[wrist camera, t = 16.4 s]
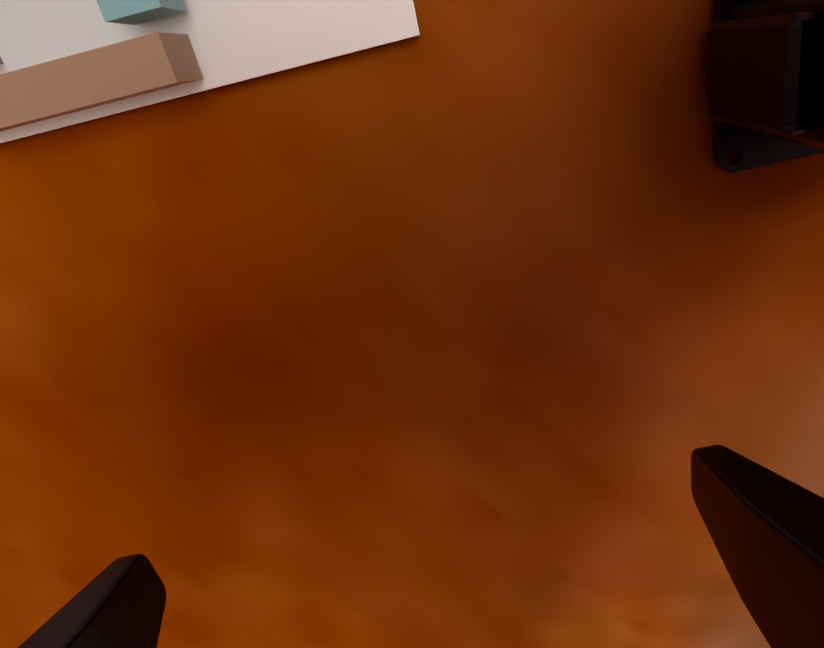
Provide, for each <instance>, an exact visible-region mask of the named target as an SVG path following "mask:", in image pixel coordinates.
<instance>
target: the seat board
mask: <svg viewBox="0 0 824 648" xmlns="http://www.w3.org/2000/svg"><path fill="white" fill-rule="evenodd" d="M183 3H184V6H185V9H186V12H182V13H178V14H175V15H171V16H167V17H164V18H160V19H156V20H153V21H149V22H145V23H142V24H138V25H130V24H120V23H110V22H105V20H104V18H103V16H102V13H101V11H100V8H99V6H98V3H97V1H96V0H0V144H1V143H4V142H8V141H12V140H16V139H20V138H24V137H28V136H32V135H35V134H39V133H43V132H47V131H51V130H55V129H59V128H63V127H66V126H70V125H74V124H78V123H82V122H86V121H90V120H94V119H97V118H101V117H105V116H109V115H113V114H117V113H121V112H125V111H128V110H132V109H136V108H140V107H144V106H148V105H152V104H156V103H159V102H163V101H167V100H171V99H175V98H179V97H183V96H187V95H190V94H194V93H198V92H202V91H206V90H210V89H214V88H218V87H221V86H225V85H229V84H233V83H237V82H241V81H245V80H249V79H252V78H256V77H260V76H264V75H268V74H272V73H276V72H280V71H283V70H287V69H291V68H295V67H299V66H303V65H307V64H311V63H314V62H318V61H322V60H326V59H330V58H334V57H338V56H342V55H345V54H349V53H353V52H357V51H361V50H365V49H369V48H373V47H376V46H380V45H384V44H388V43H392V42H396V41H400V40H404V39H407V38H411V37H415V36H419V35H420V33H419V28H418V23H417V18H416V13H415V8H414V3H413V0H183Z"/></svg>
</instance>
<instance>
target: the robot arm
mask: <svg viewBox="0 0 824 648" xmlns="http://www.w3.org/2000/svg"><path fill="white" fill-rule="evenodd" d="M708 115H709V116H710V117H711V118H713V159H714V164H715V165H716V166H717V168H719V169H721V170H724V171H727V172H737V171H742V170H746V169H751V168H755V167H760V166H764V165H768V164H773V163H777V162H782V161H786V160H790V159H795V158H799V157H804V156H808V155H812V154H817V153H821V152H824V0H714V24H713V26H712V27H711V29H710V30H709V32H708ZM734 149H736V152H737V154H736V157H735V158H734V160H733V161H731V162H729V163H728V161H727V157H728V154H729V153H730V152H731V151H732V150H734ZM691 485H692V495H693V498H694V501H695V504H696V506H697V508H698V510H699V512H700V514H701V517H702V519H703V521H704V523H705V525H706V527H707V529H708V531H709V533H710V535H711V537H712V539H713V542H714V544H715V546H716V548H717V550H718V552H719V554H720V556H721V558H722V560H723V562H724V564H725V566H726V569H727V571H728V573H729V575H730V577H731V579H732V581H733V583H734V585H735V587H736V589H737V591H738V593H739V595H740V597H741V599H742V600H743V602H744V604H745V606H746V607H747V609H748V611H749V612H750V614H751V616H752V617H753V619H754V621H755V622H756V624H757V626H758V627H759V629H760V630H761V632H762V634H763V635H764V637H765V638H766V640H767V642H768V643H769V645H770V647H771V648H824V498H822V497H820V496H819V495H817V494H815V493H813V492H811V491H809V490H807V489H805V488H803V487H801V486H799V485H798V484H796V483H794V482H792V481H790V480H788V479H786V478H784V477H782V476H780V475H778V474H776V473H775V472H773V471H771V470H769V469H767V468H765V467H763V466H761V465H759V464H757V463H755V462H753V461H752V460H750V459H748V458H746V457H744V456H742V455H740V454H738V453H736V452H734V451H732V450H730V449H729V448H727V447H724V446H722V445H712V446H707V447H702V448H697V449H695V450H694V451H693V452H692V455H691ZM165 603H166V590H165V586H164V584H163V582H162V581H161V579H160V577H159V576H158V574H157V572H156V571H155V569H154V568H153V566H152V564H151V563H150V561H149V559H148V558H147V557H146V556H144V555H143V554H135V555H130V556H125V557H121V558H118V559H116V560H115V561H114V562H112V563H111V564H110V565H109V566H108V567H107V568H106V569H105V570H103V571H102V572H101V573H100V574H99V575H98V576H97V577H96V578H95V579H93V580H92V581H91V582H90V583H89V584H88V585H87V586H86V587H85V588H84V589H82V590H81V591H80V592H79V593H78V594H77V595H76V596H75V597H74V598H72V599H71V600H70V601H69V602H68V603H67V604H66V605H65V606H64V607H62V608H61V609H60V610H59V611H58V612H57V613H56V614H55V615H54V616H52V617H51V618H50V619H49V620H48V621H47V622H46V623H45V624H44V625H42V626H41V627H40V628H39V629H38V630H37V631H36V632H35V633H34V634H32V635H31V636H30V637H29V638H28V639H27V640H26V641H25V642H24V643H22V644H21V645H20V646H19V647H18V648H157V643H158V638H159V633H160V628H161V623H162V618H163V613H164V608H165Z"/></svg>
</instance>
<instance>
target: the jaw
mask: <svg viewBox="0 0 824 648" xmlns="http://www.w3.org/2000/svg"><path fill="white" fill-rule="evenodd" d="M96 1H97V3H98V6H99V8H100V11H101V13H102V16H103V18H104V20H105V22H110V23H120V24H130V25H138V24H142V23H145V22H149V21H153V20H156V19H160V18H164V17H167V16H171V15H175V14H178V13H182V12H186V9H185V6H184V3H183V0H96Z"/></svg>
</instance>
